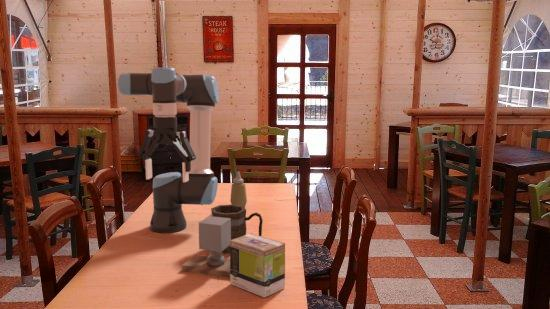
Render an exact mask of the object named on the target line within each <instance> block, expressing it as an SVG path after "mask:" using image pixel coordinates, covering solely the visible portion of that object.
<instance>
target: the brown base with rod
mask: <svg viewBox="0 0 550 309" xmlns="http://www.w3.org/2000/svg"><path fill="white" fill-rule="evenodd" d="M208 251H209V255H203V254H195V255H193V256H192V257H191V258H189V259H188V260H187V261H185V262H183V264H181V270H182V271H183V272H187V271H188V272H187V273H189V272H190V273H194V272H195V273H196V274H201V273H202V274H203V275H208V274H209V276H216V277H222V278H228V279H230V258H225V256H224V255H222V253H221V252H218V251H210V250H208ZM195 273H194V274H195Z"/></svg>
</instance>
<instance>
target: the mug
mask: <svg viewBox="0 0 550 309" xmlns="http://www.w3.org/2000/svg"><path fill="white" fill-rule="evenodd" d="M210 210H211V216H213V217H222V218H231V240H233V239H236V238H239V237H242V236H245V235H247V222H246V221H250V220H251V219H252V218H253V217H258V218H259V222H258V223H259V225H258V236H262V233H263V221H264V220H263V218H262V217H263V216H262V214H260V213H258V212H253V213H251V214H250V215H249V216H246V215H247V209H246V206H245V207H244V206H239V205H233V204H231V203H230V204H220V205H216V206H215V207H212V208H210ZM262 237H263V236H262ZM221 254H224V255H227V254H228V255H230V245H229V246H228V247H227V248H225V249H224V250H223V251H222V252H221Z"/></svg>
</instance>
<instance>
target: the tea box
mask: <svg viewBox="0 0 550 309" xmlns="http://www.w3.org/2000/svg"><path fill="white" fill-rule="evenodd" d="M229 259H230V278H229V280H230V285H233V286H235V287H237V288H239V289H242V290H245V291H246V292H250V293H253V294H254V295H257V296H259V297H261V298H266V297H269V296H271V295H273V294H276V293H277V292H280V291H281V290H283V289H285V285H286V243H285V242H283V241H278V240H275V239H272V238H270V237H264V236H259V234H258V235H257V234H253V233H248V234H246V235H245V236H242V237H239V238H236V239H233V240H230V254H229Z"/></svg>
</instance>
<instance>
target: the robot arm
mask: <svg viewBox="0 0 550 309" xmlns="http://www.w3.org/2000/svg"><path fill="white" fill-rule="evenodd" d="M117 89H118V91H119V93H120V94H121V95H124V96H142V97H143V96H144V97H146V96H147V97H152V115H153V118H152V119H153V120H152V121H153V122H152V123H153V129H150V128H149V129H147V130H145V131H144V132H145V133H144V138H143V140H142V143H141V145H140V148H139V150H138V153H137V157H138V158H141V159H142V162H143V163H142V164H143V169H144V170H145V180H150V179H152V178H153V179H152V187H151V188H152V199H153V200H152V201H153V212H152V216H151V220H150V224H149V228H150V230H151V231H152V232H155V233H163V234H164V233H165V234H166V233H176V232H180V231H182V230H185V229H186V228H187V219H186V216H185V214H184V211H183V207H182V206H183V205H193V206H195V205H196V206H198V205H200V206H204V205H205V206H206V205H212V204H213V203H214V201H215V199H216V196H217V192H218V185H219V184H218V178H217V177H216V176H215V173H214V171H213V170H212V169H211V139H212V138H211V134H212V129H211V128H212V111H213V110H214V109H215V108H216V104H219V102H220V91H219V90H220V89H219V85H218V81H217V79H216V77H215V76H213V75H209V74H181V73H178V72H176V69H175V68H174V67H153V68H152V69H151V72H149V73H148V72H145V73H143V72H123V73H120V75H119V76H118V78H117ZM177 103H181V104H182V103H183V104H186V108H187V110H189V114H190V116H189V119H190V120H189V139H188V137H187V131H186V130H182V131H178V129H177V128H178V117H177V116H176V115H177V114H178V111H177V110H178V109H177V108H178V107H177ZM153 136H154V139H153V141H152V143H151V140H152V138H153ZM178 139H179V140H180V141H179V140H178ZM180 142H181V144H182V145H181V144H180ZM150 143H151V145H150ZM149 145H150V146H149ZM159 145H166V146H169V145H171V146H172V147H173V148H174V150H175V151H176V152H177V153H178V155H179V157H180V158H182V160H183V162H181V164H182V173H181V172H179V171H174V172H173V171H171V172H166V173H161V174H158V175H155V177H153V160H152V158H151V156H152V155H153V154H154V152H155V150H157V148H158V146H159ZM148 147H149V148H148Z"/></svg>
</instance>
